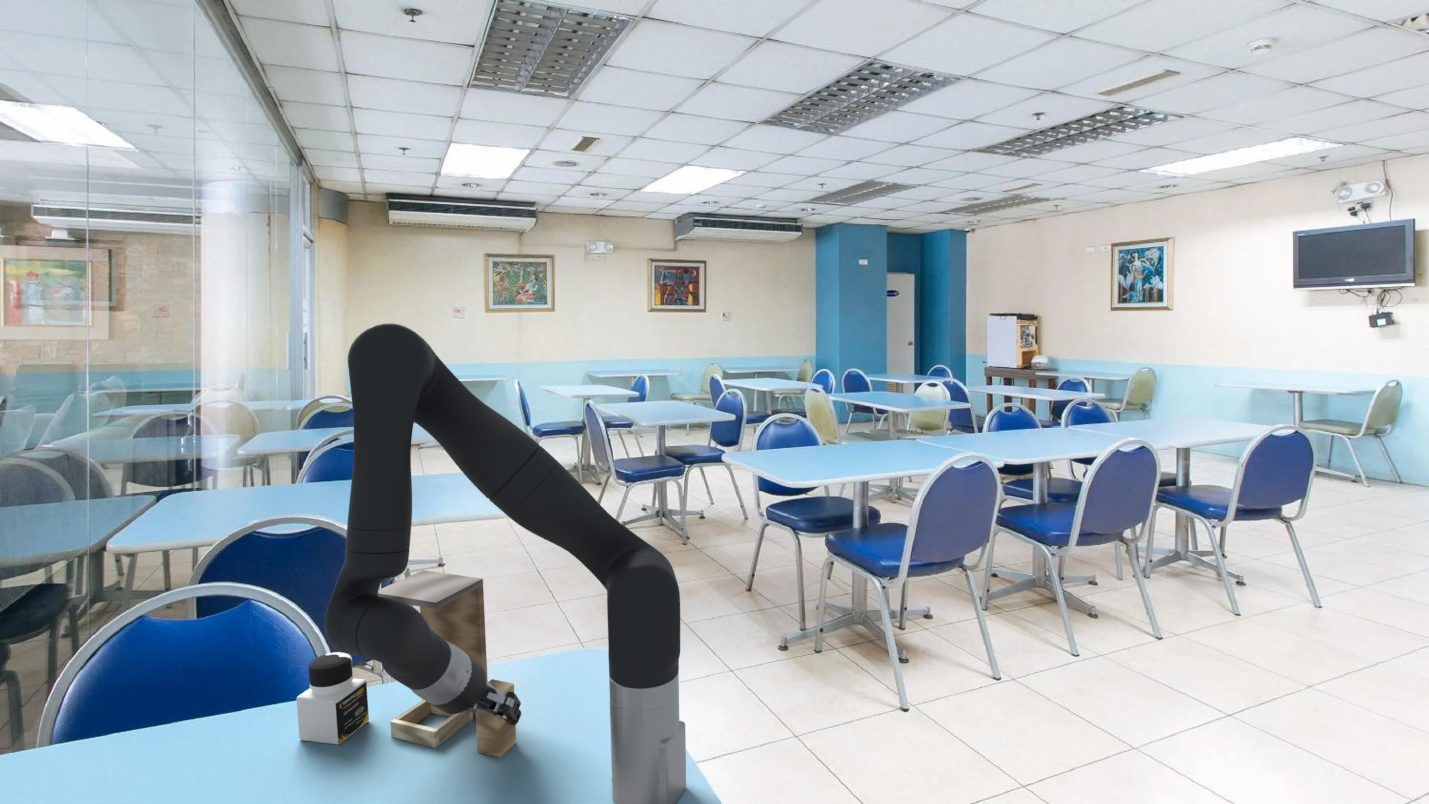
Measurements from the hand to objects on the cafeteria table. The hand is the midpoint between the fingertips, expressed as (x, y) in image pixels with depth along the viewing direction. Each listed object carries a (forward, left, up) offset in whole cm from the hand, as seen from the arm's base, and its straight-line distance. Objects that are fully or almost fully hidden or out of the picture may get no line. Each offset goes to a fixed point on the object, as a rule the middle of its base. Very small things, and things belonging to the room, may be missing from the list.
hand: (503, 715), depth 113 cm
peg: (0, +2, -4) cm, 5 cm away
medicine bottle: (+27, +7, -4) cm, 28 cm away
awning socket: (+13, +1, -4) cm, 14 cm away
